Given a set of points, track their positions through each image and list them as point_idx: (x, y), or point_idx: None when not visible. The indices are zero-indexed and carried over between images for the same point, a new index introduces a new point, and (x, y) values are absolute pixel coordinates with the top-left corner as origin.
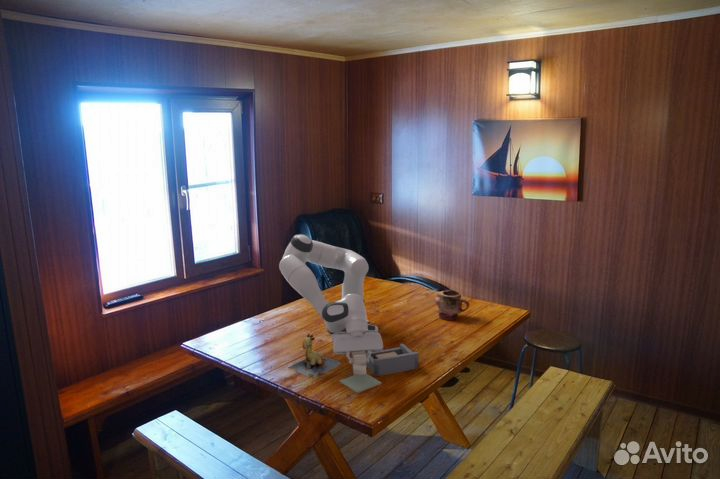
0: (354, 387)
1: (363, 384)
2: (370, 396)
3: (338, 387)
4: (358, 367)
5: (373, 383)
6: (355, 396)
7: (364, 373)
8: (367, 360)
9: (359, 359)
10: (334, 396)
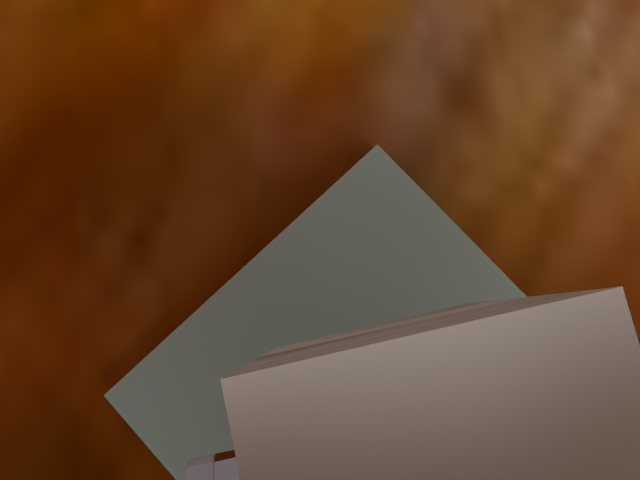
0: (424, 243)
1: (323, 326)
2: (222, 94)
3: (617, 267)
4: (414, 319)
5: (201, 363)
6: (385, 81)
7: (304, 341)
8: (227, 466)
9: (416, 329)
10: (615, 63)
